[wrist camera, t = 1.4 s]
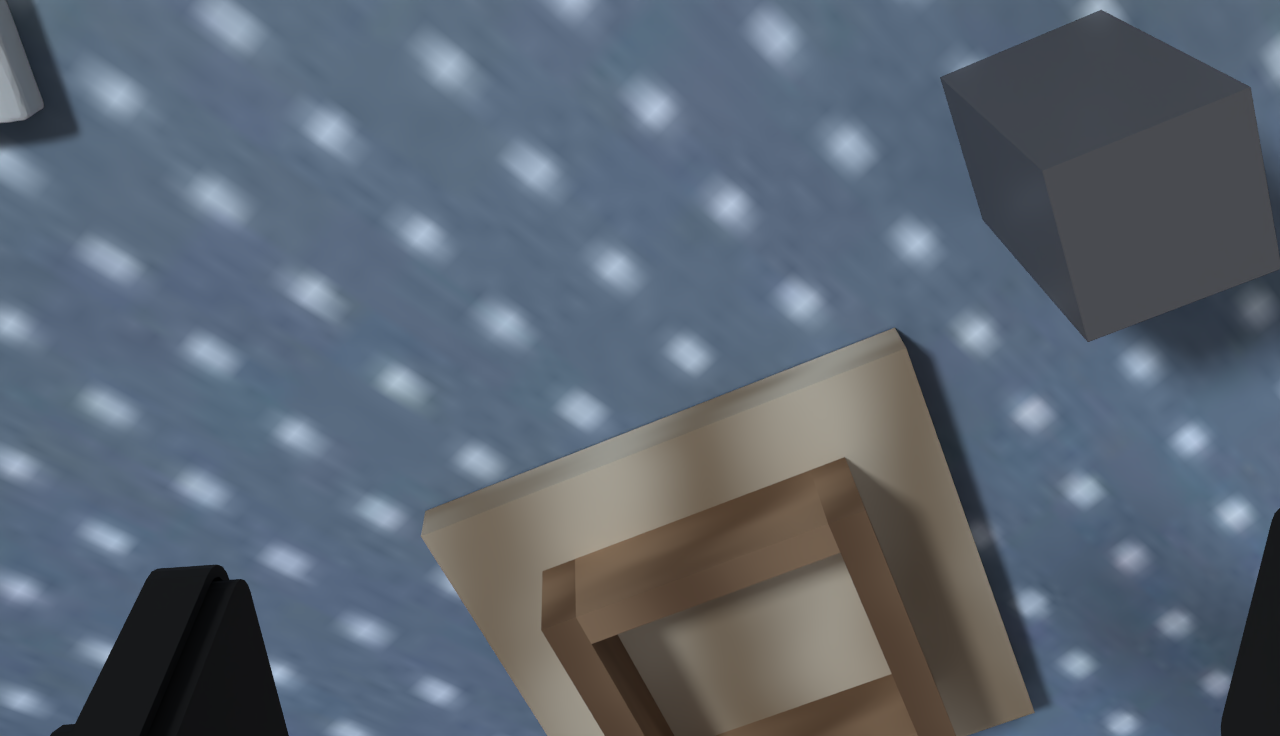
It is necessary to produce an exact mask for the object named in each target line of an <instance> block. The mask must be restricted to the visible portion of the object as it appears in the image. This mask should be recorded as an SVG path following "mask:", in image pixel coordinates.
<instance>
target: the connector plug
mask: <svg viewBox="0 0 1280 736" xmlns="http://www.w3.org/2000/svg"><path fill="white" fill-rule="evenodd" d="M940 78H941V82H942V85H943V89H944V92H945V95H946V99H947V102H948V105H949V109H950V112H951V115H952V119H953V122H954V125H955V129H956V132H957V135H958V139H959V142H960V145H961V149H962V152H963V155H964V159H965V162H966V166H967V169H968V172H969V176H970V179H971V182H972V186H973V189H974V192H975V196H976V199H977V202H978V206H979V209H980V212H981V216H982V219H983V221H984V222H985V223H986V224H987V225H988V226H989V228H990V229H991V230H992V231H993V232H994V233H995V235H996V236H997V237H998V238H999V239H1000V240H1001V242H1002V243H1003V244H1004V245H1005V246H1006V247H1007V249H1008V250H1009V251H1010V252H1011V253H1012V254H1013V256H1014V257H1015V258H1016V259H1017V260H1018V261H1019V263H1020V264H1021V265H1022V266H1023V267H1024V268H1025V270H1026V271H1027V272H1028V273H1029V274H1030V275H1031V276H1032V278H1033V279H1034V280H1035V281H1036V282H1037V283H1038V285H1039V286H1040V287H1041V288H1042V289H1043V290H1044V292H1045V293H1046V294H1047V295H1048V296H1049V297H1050V299H1051V300H1052V301H1053V302H1054V303H1055V304H1056V306H1057V307H1058V308H1059V309H1060V310H1061V311H1062V313H1063V314H1064V315H1065V316H1066V317H1067V318H1068V320H1069V321H1070V322H1071V323H1072V324H1073V325H1074V327H1075V328H1076V329H1077V330H1078V331H1079V332H1080V334H1081V335H1082V336H1083V337H1084V338H1085V339H1086V341H1087V342H1090V341H1092V340H1095V339H1098V338H1100V337H1103V336H1105V335H1108V334H1111V333H1113V332H1116V331H1119V330H1121V329H1124V328H1126V327H1129V326H1132V325H1134V324H1137V323H1140V322H1142V321H1145V320H1148V319H1150V318H1153V317H1155V316H1158V315H1161V314H1163V313H1166V312H1169V311H1171V310H1174V309H1176V308H1179V307H1182V306H1184V305H1187V304H1190V303H1192V302H1195V301H1198V300H1200V299H1203V298H1205V297H1208V296H1211V295H1213V294H1216V293H1219V292H1221V291H1224V290H1226V289H1229V288H1232V287H1234V286H1237V285H1240V284H1242V283H1245V282H1248V281H1250V280H1253V279H1255V278H1258V277H1261V276H1263V275H1266V274H1269V273H1271V272H1274V271H1277V270H1279V269H1280V256H1279V250H1278V245H1277V239H1276V233H1275V227H1274V221H1273V215H1272V210H1271V204H1270V198H1269V192H1268V186H1267V180H1266V175H1265V169H1264V163H1263V157H1262V151H1261V145H1260V140H1259V134H1258V128H1257V122H1256V116H1255V110H1254V105H1253V99H1252V93H1251V87H1249V86H1247V85H1245V84H1243V83H1242V82H1240V81H1238V80H1236V79H1234V78H1232V77H1230V76H1228V75H1226V74H1224V73H1222V72H1220V71H1218V70H1216V69H1214V68H1213V67H1211V66H1209V65H1207V64H1205V63H1203V62H1201V61H1199V60H1197V59H1195V58H1193V57H1191V56H1189V55H1187V54H1185V53H1184V52H1182V51H1180V50H1178V49H1176V48H1174V47H1172V46H1170V45H1168V44H1166V43H1164V42H1162V41H1160V40H1158V39H1156V38H1155V37H1153V36H1151V35H1149V34H1147V33H1145V32H1143V31H1141V30H1139V29H1137V28H1135V27H1133V26H1131V25H1129V24H1127V23H1126V22H1124V21H1122V20H1120V19H1118V18H1116V17H1114V16H1112V15H1110V14H1108V13H1106V12H1104V11H1102V10H1100V11H1097V12H1095V13H1093V14H1090V15H1088V16H1085V17H1083V18H1081V19H1078V20H1076V21H1074V22H1071V23H1069V24H1066V25H1064V26H1062V27H1059V28H1057V29H1054V30H1052V31H1050V32H1047V33H1045V34H1042V35H1040V36H1038V37H1035V38H1033V39H1031V40H1028V41H1026V42H1023V43H1021V44H1019V45H1016V46H1014V47H1011V48H1009V49H1007V50H1004V51H1002V52H999V53H997V54H995V55H992V56H990V57H988V58H985V59H983V60H980V61H978V62H976V63H973V64H971V65H968V66H966V67H964V68H961V69H959V70H956V71H954V72H952V73H949V74H947V75H945V76H942V77H940Z"/></svg>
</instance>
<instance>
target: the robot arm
mask: <svg viewBox="0 0 1280 736" xmlns="http://www.w3.org/2000/svg"><path fill="white" fill-rule="evenodd" d="M50 736H289V735H288V731H287V728H286V724H285V720H284V716H283V712H282V709H281V705H280V701H279V697H278V694H277V690H276V686H275V682H274V679H273V675H272V671H271V667H270V664H269V660H268V656H267V652H266V649H265V645H264V641H263V637H262V633H261V630H260V626H259V622H258V618H257V615H256V611H255V607H254V603H253V600H252V596H251V592H250V589H249V587H248V584H247V583H246V582H245V580H242V579H236V580H229V578H228V575H227V572H226V571H225V570H224V568H223V567H222V566H220V565H204V566H190V567H176V568H161V569H156V570H154V571H152V572H151V574H150V575H149V576H148V578H147V579H146V581H145V583H144V585H143V588H142V590H141V592H140V594H139V596H138V598H137V600H136V602H135V604H134V606H133V608H132V610H131V612H130V614H129V616H128V618H127V620H126V622H125V624H124V626H123V628H122V630H121V632H120V634H119V636H118V638H117V640H116V642H115V644H114V646H113V648H112V650H111V652H110V654H109V656H108V658H107V660H106V662H105V664H104V667H103V669H102V671H101V673H100V675H99V677H98V679H97V681H96V683H95V685H94V687H93V689H92V691H91V693H90V695H89V697H88V699H87V701H86V703H85V705H84V707H83V709H82V711H81V713H80V715H79V717H78V719H77V721H76V723H75V724H69V725H62V726H61V727H59V728H58V729H57V730H55V731H54V732H52V734H51V735H50ZM1221 736H1280V508H1279V509H1278V510H1277V512H1276V513H1275V514H1274V517H1273V519H1272V522H1271V526H1270V530H1269V534H1268V538H1267V542H1266V546H1265V550H1264V554H1263V558H1262V562H1261V566H1260V570H1259V573H1258V577H1257V581H1256V585H1255V589H1254V593H1253V597H1252V601H1251V605H1250V609H1249V613H1248V617H1247V621H1246V625H1245V629H1244V633H1243V637H1242V641H1241V645H1240V649H1239V653H1238V657H1237V661H1236V665H1235V668H1234V672H1233V676H1232V680H1231V684H1230V688H1229V692H1228V696H1227V700H1226V704H1225V708H1224V712H1223V716H1222V722H1221Z"/></svg>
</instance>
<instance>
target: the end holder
mask: <svg viewBox="0 0 1280 736" xmlns="http://www.w3.org/2000/svg"><path fill="white" fill-rule="evenodd" d="M421 537H422V539H423V540H424V542H425V543H426V545H427V547H428V548H429V550H430V551H431V553H432V554H433V556H434V558H435V559H436V561H437V562H438V564H439V565H440V567H441V569H442V570H443V572H444V573H445V575H446V576H447V578H448V580H449V581H450V583H451V584H452V586H453V588H454V589H455V591H456V592H457V594H458V595H459V597H460V599H461V600H462V602H463V603H464V605H465V606H466V608H467V610H468V611H469V613H470V614H471V616H472V617H473V619H474V621H475V622H476V624H477V625H478V627H479V628H480V630H481V632H482V633H483V635H484V636H485V638H486V640H487V641H488V643H489V644H490V646H491V647H492V649H493V651H494V652H495V654H496V655H497V657H498V658H499V660H500V662H501V663H502V665H503V666H504V668H505V669H506V671H507V673H508V674H509V676H510V677H511V679H512V681H513V682H514V684H515V685H516V687H517V688H518V690H519V692H520V693H521V695H522V696H523V698H524V699H525V701H526V703H527V704H528V706H529V707H530V709H531V710H532V712H533V714H534V715H535V717H536V718H537V720H538V721H539V723H540V725H541V726H542V728H543V729H544V731H545V733H546V734H547V736H967V735H970V734H973V733H976V732H979V731H982V730H985V729H988V728H991V727H994V726H997V725H1000V724H1003V723H1006V722H1008V721H1011V720H1014V719H1017V718H1020V717H1023V716H1026V715H1029V714H1032V713H1035V712H1034V709H1033V707H1032V704H1031V701H1030V698H1029V695H1028V692H1027V690H1026V687H1025V684H1024V681H1023V678H1022V675H1021V672H1020V670H1019V667H1018V664H1017V661H1016V658H1015V655H1014V653H1013V650H1012V647H1011V644H1010V641H1009V638H1008V636H1007V633H1006V630H1005V627H1004V624H1003V621H1002V619H1001V616H1000V613H999V610H998V607H997V604H996V602H995V599H994V596H993V593H992V590H991V587H990V584H989V582H988V579H987V576H986V573H985V570H984V567H983V565H982V562H981V559H980V556H979V553H978V550H977V548H976V545H975V542H974V539H973V536H972V533H971V531H970V528H969V525H968V522H967V519H966V516H965V514H964V511H963V508H962V505H961V502H960V499H959V497H958V494H957V491H956V488H955V485H954V482H953V479H952V477H951V474H950V471H949V468H948V465H947V462H946V460H945V457H944V454H943V451H942V448H941V445H940V443H939V440H938V437H937V434H936V431H935V428H934V426H933V423H932V420H931V417H930V414H929V411H928V409H927V406H926V403H925V400H924V397H923V394H922V391H921V389H920V386H919V383H918V380H917V377H916V374H915V372H914V369H913V366H912V363H911V360H910V357H909V355H908V352H907V349H906V347H905V345H904V343H903V341H902V340H901V338H900V336H899V334H898V332H897V331H896V329H895V328H893V329H890V330H888V331H885V332H882V333H880V334H877V335H875V336H872V337H870V338H867V339H865V340H862V341H859V342H857V343H854V344H852V345H849V346H847V347H844V348H842V349H839V350H836V351H834V352H831V353H829V354H826V355H824V356H821V357H819V358H816V359H813V360H811V361H808V362H806V363H803V364H801V365H798V366H796V367H793V368H790V369H788V370H785V371H783V372H780V373H778V374H775V375H772V376H770V377H767V378H765V379H762V380H760V381H757V382H755V383H752V384H749V385H747V386H744V387H742V388H739V389H737V390H734V391H732V392H729V393H726V394H724V395H721V396H719V397H716V398H714V399H711V400H709V401H706V402H703V403H701V404H698V405H696V406H693V407H691V408H688V409H686V410H683V411H680V412H678V413H675V414H673V415H670V416H668V417H665V418H663V419H660V420H657V421H655V422H652V423H650V424H647V425H645V426H642V427H640V428H637V429H634V430H632V431H629V432H627V433H624V434H622V435H619V436H616V437H614V438H611V439H609V440H606V441H604V442H601V443H599V444H596V445H593V446H591V447H588V448H586V449H583V450H581V451H578V452H576V453H573V454H570V455H568V456H565V457H563V458H560V459H558V460H555V461H553V462H550V463H547V464H545V465H542V466H540V467H537V468H535V469H532V470H530V471H527V472H524V473H522V474H519V475H517V476H514V477H512V478H509V479H507V480H504V481H501V482H499V483H496V484H494V485H491V486H489V487H486V488H483V489H481V490H478V491H476V492H473V493H471V494H468V495H466V496H463V497H460V498H458V499H455V500H453V501H450V502H448V503H445V504H443V505H440V506H437V507H435V508H432V509H430V510H427V511H425V517H424V522H423V528H422V534H421Z"/></svg>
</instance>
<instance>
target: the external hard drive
mask: <svg viewBox="0 0 1280 736" xmlns="http://www.w3.org/2000/svg"><path fill="white" fill-rule="evenodd" d="M43 108H44V103H43V99H42V97H41V94H40V92H39V89H38V86H37V84H36V81H35V78H34V75H33V73H32V70H31V67H30V64H29V62H28V59H27V56H26V53H25V50H24V48H23V45H22V42H21V39H20V36H19V34H18V31H17V28H16V25H15V23H14V20H13V17H12V15H11V12H10V9H9V6H8V4H7V1H6V0H0V123H6V122H13V121H20V120H25V119H27V118H29V117H31V116H32V115H33V114H35V113H36V112H38V111H39V110H41V109H43Z"/></svg>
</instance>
